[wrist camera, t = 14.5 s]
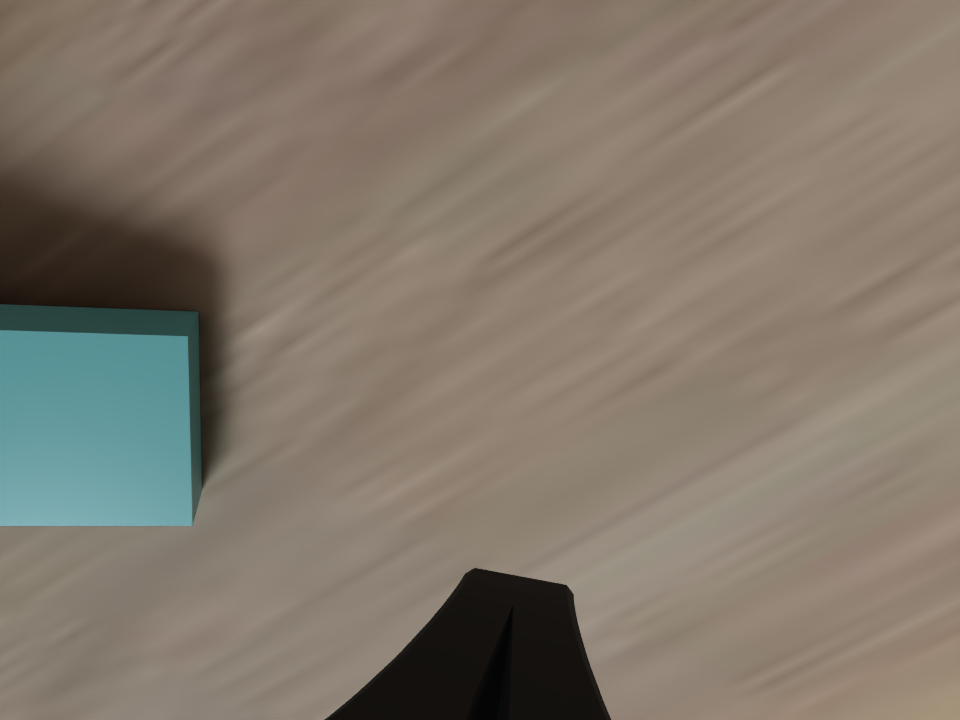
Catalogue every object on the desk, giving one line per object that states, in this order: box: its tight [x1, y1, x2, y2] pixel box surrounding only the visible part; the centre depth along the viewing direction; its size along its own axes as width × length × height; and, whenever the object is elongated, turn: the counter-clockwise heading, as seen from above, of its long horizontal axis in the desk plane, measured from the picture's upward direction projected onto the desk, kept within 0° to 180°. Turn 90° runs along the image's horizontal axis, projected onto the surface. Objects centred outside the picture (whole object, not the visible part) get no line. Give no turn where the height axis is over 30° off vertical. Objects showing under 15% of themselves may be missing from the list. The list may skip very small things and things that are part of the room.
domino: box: [0, 304, 202, 526], centre depth 22 cm, size 2×5×9 cm
